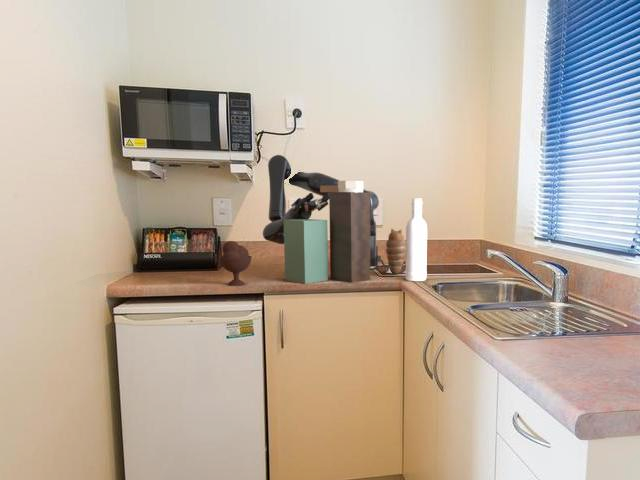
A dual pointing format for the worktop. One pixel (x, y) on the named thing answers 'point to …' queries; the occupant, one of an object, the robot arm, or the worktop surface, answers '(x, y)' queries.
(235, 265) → the ice cream bowl
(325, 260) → the box
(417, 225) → the bottle
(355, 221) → the stand
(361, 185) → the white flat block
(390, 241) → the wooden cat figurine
